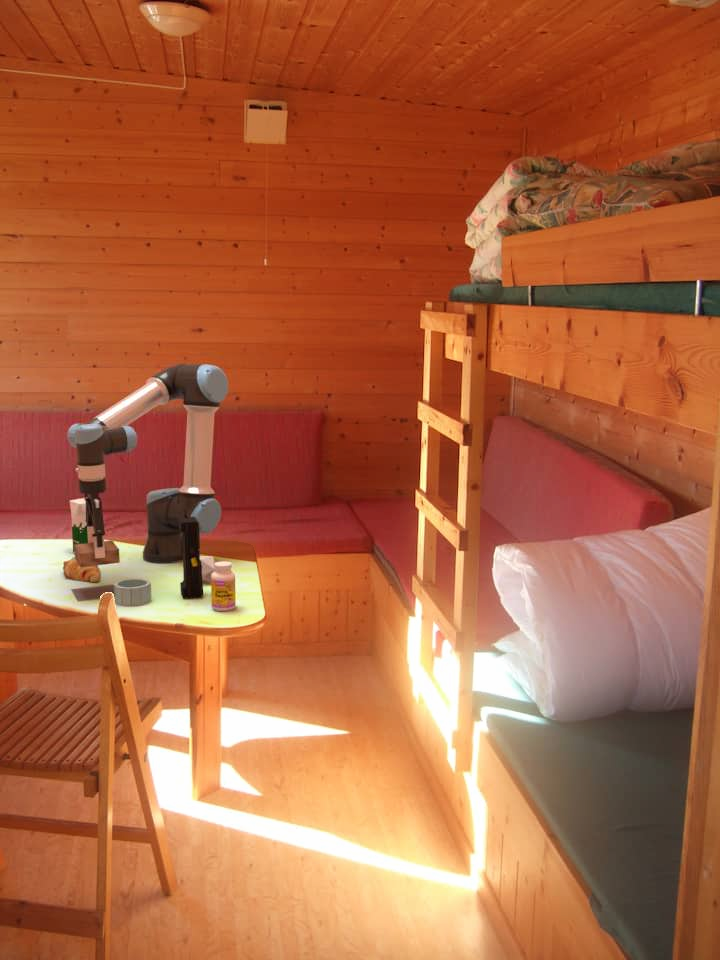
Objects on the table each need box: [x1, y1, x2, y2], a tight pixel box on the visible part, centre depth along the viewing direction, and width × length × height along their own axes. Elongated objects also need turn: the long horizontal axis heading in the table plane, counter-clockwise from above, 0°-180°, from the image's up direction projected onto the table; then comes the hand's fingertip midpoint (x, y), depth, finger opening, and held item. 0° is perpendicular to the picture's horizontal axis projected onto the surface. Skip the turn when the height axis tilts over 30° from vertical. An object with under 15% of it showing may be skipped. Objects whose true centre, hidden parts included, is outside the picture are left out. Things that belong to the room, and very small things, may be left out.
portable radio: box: [179, 509, 205, 599], centre depth 282 cm, size 8×6×25 cm
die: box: [200, 555, 217, 584], centre depth 298 cm, size 8×9×10 cm
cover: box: [74, 540, 121, 567], centre depth 285 cm, size 11×11×4 cm
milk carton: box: [69, 494, 101, 553], centre depth 332 cm, size 9×9×20 cm
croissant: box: [62, 556, 102, 583], centre depth 303 cm, size 21×10×8 cm, turn 44°
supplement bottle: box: [210, 561, 236, 612], centre depth 272 cm, size 7×7×13 cm
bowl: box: [113, 577, 152, 607], centre depth 278 cm, size 10×10×5 cm
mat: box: [71, 584, 114, 602], centre depth 286 cm, size 13×13×1 cm
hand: (96, 552), depth 284 cm, fingers closed on cover, 11 cm apart
